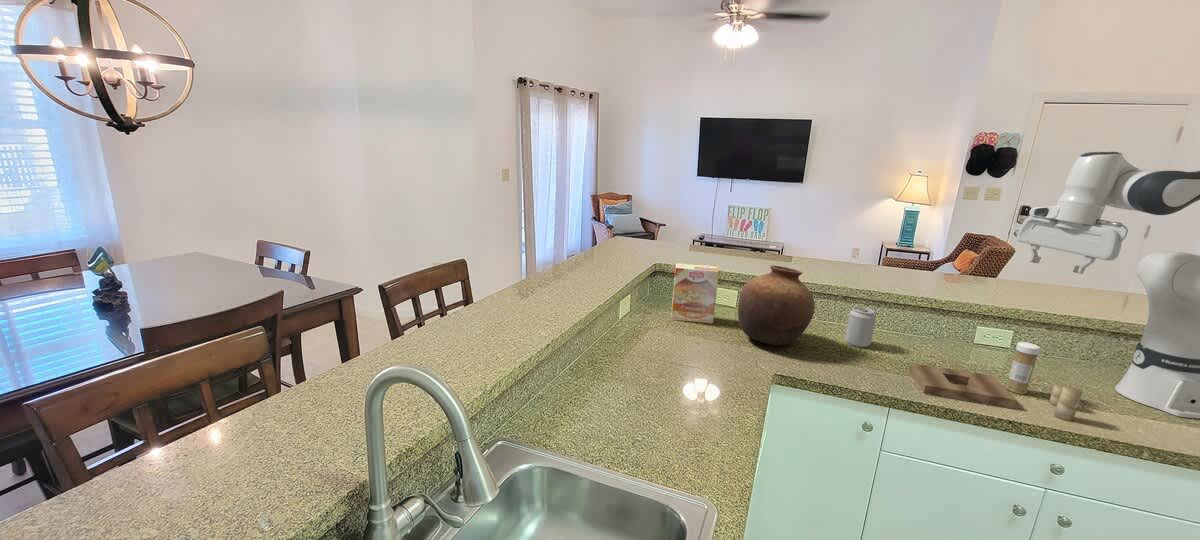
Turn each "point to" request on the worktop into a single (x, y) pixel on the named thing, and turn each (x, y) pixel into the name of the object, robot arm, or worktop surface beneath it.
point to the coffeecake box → (694, 293)
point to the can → (860, 327)
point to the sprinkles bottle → (1022, 367)
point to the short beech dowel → (1056, 394)
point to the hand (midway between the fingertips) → (1055, 267)
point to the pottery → (775, 307)
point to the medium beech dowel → (1068, 403)
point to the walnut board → (976, 390)
